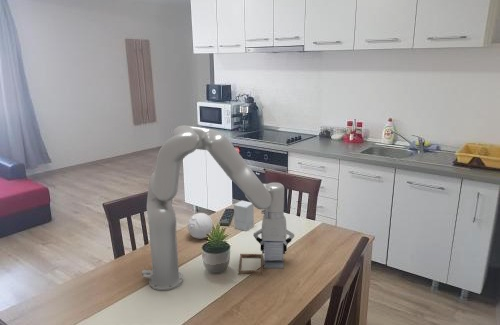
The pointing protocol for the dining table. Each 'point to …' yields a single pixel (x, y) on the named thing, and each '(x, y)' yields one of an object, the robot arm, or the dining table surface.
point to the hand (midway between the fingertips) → (273, 252)
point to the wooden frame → (250, 272)
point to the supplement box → (243, 215)
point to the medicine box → (273, 250)
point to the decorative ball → (200, 225)
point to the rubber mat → (274, 264)
